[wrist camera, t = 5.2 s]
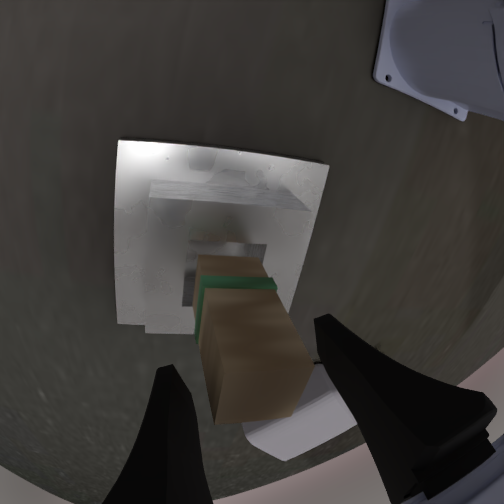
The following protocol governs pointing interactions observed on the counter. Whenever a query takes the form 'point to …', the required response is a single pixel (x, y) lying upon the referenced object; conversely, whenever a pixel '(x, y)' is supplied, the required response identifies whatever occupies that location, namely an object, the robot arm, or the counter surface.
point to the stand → (205, 222)
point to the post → (246, 342)
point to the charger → (304, 420)
